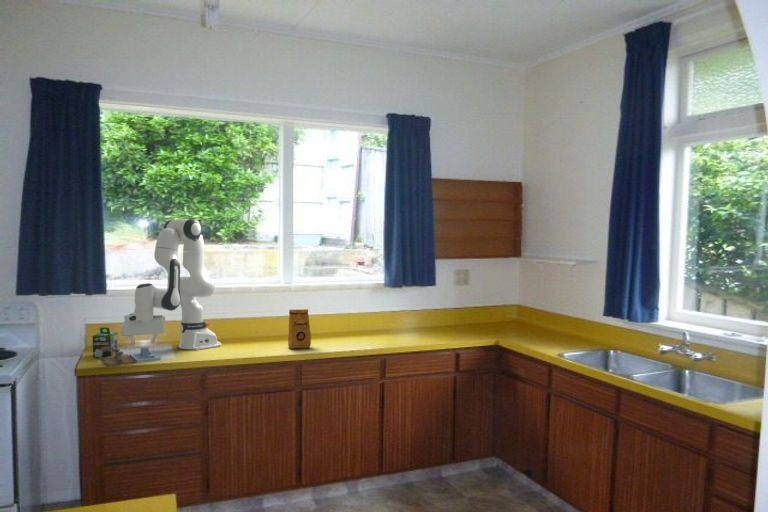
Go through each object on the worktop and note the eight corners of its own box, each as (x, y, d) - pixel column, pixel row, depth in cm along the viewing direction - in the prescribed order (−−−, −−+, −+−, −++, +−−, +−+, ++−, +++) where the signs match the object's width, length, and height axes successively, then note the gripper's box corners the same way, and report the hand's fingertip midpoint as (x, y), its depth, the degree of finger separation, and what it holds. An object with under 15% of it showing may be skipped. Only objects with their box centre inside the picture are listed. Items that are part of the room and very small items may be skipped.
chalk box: (118, 353, 284) (118, 325, 283) (111, 357, 275) (110, 328, 274) (100, 353, 283) (100, 325, 282) (92, 357, 274) (91, 328, 273)
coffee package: (311, 349, 303) (312, 310, 302) (288, 350, 300) (289, 310, 298) (309, 345, 312) (309, 307, 311) (287, 346, 309) (287, 307, 308)
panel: (152, 354, 284) (152, 344, 284) (160, 359, 272) (160, 349, 272) (129, 356, 278) (129, 346, 277) (136, 362, 266) (136, 352, 265)
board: (127, 356, 278) (127, 346, 277) (135, 363, 265) (135, 352, 265) (101, 359, 270) (101, 348, 270) (107, 366, 258) (107, 355, 257)
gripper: (163, 314, 282) (162, 340, 283) (120, 316, 270) (120, 344, 270) (167, 315, 277) (166, 342, 278) (123, 317, 265) (122, 346, 265)
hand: (143, 343), depth 274 cm, fingers open, 8 cm apart
